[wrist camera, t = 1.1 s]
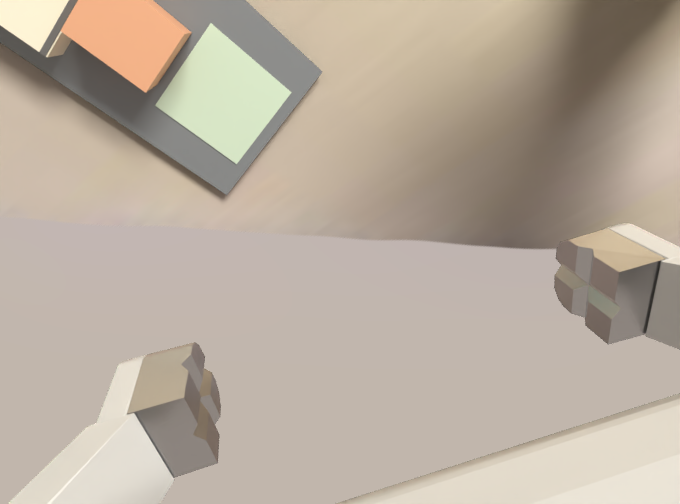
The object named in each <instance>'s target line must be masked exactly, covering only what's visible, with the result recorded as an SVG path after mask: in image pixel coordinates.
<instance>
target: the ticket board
mask: <svg viewBox="0 0 680 504" xmlns="http://www.w3.org/2000/svg"><path fill="white" fill-rule="evenodd" d="M77 1H78V0H0V43H1V44H3V45H4V46H6V47H7V48H9V49H10V50H12V51H13V52H15V53H16V54H18V55H19V56H21V57H22V58H24V59H25V60H27V61H28V62H30V63H31V64H33V65H34V66H36V67H37V68H39V69H40V70H42V71H43V72H45V73H46V74H48V75H49V76H51V77H52V78H53V79H55V80H56V81H58V82H59V83H61V84H62V85H64V86H65V87H67V88H68V89H70V90H71V91H73V92H74V93H76V94H77V95H79V96H80V97H82V98H83V99H85V100H86V101H88V102H89V103H91V104H92V105H94V106H95V107H97V108H98V109H100V110H101V111H102V112H104V113H105V114H107V115H108V116H110V117H111V118H113V119H114V120H116V121H117V122H119V123H120V124H122V125H123V126H125V127H126V128H128V129H129V130H131V131H132V132H134V133H135V134H137V135H138V136H140V137H141V138H143V139H144V140H146V141H147V142H149V143H150V144H151V145H153V146H154V147H156V148H157V149H159V150H160V151H162V152H163V153H165V154H166V155H168V156H169V157H171V158H172V159H174V160H175V161H177V162H178V163H180V164H181V165H183V166H184V167H186V168H187V169H189V170H190V171H192V172H193V173H195V174H196V175H198V176H199V177H200V178H202V179H203V180H205V181H206V182H208V183H209V184H211V185H212V186H214V187H215V188H217V189H218V190H220V191H221V192H223V193H224V194H226V195H227V194H228V193H229V192H230V190H231V189H232V188H233V187H234V185H235V184H236V183H237V181H238V180H239V179H240V178H241V176H242V175H243V174H244V172H245V171H246V170H247V168H248V167H249V166H250V165H251V163H252V162H253V161H254V159H255V158H256V157H257V156H258V154H259V153H260V152H261V150H262V149H263V148H264V147H265V145H266V144H267V143H268V141H269V140H270V139H271V138H272V136H273V135H274V134H275V132H276V131H277V130H278V129H279V127H280V126H281V125H282V123H283V122H284V121H285V120H286V118H287V117H288V116H289V114H290V113H291V112H292V111H293V109H294V108H295V107H296V105H297V104H298V103H299V101H300V100H301V99H302V98H303V96H304V95H305V94H306V92H307V91H308V90H309V89H310V87H311V86H312V85H313V83H314V82H315V81H316V80H317V78H318V77H319V76H320V74H321V73H322V71H321V70H320V69H319V68H318V67H317V66H316V65H315V64H313V63H312V62H311V61H310V60H309V59H308V58H307V57H306V56H305V55H304V54H303V53H302V52H301V51H299V50H298V49H297V48H296V47H295V46H294V45H293V44H292V43H291V42H290V41H289V40H288V39H286V38H285V37H284V36H283V35H282V34H281V33H280V32H279V31H278V30H277V29H276V28H275V27H273V26H272V25H271V24H270V23H269V22H268V21H267V20H266V19H265V18H264V17H263V16H262V15H260V14H259V13H258V12H257V11H256V10H255V9H254V8H253V7H252V6H251V5H250V4H249V3H248V2H246V1H245V0H153V1H155V2H156V3H157V4H158V5H159V6H161V7H162V8H163V9H164V10H165V11H167V12H168V13H169V14H170V15H171V16H173V17H174V18H175V19H176V20H177V21H179V22H180V23H181V24H182V25H183V26H185V27H186V28H187V29H188V30H189V31H191V32H192V33H191V35H190V36H189V38H188V39H187V41H186V42H185V44H184V45H183V47H182V48H181V50H180V51H179V53H178V54H177V56H176V57H175V59H174V60H173V62H172V63H171V65H170V66H169V68H168V69H167V71H166V72H165V74H164V75H163V77H162V78H161V80H160V81H159V83H158V84H157V85H156V86H155V87H153V88H152V89H150V90H149V91H147V92H146V93H145V92H144V91H142V90H141V89H140V88H138V87H137V86H136V85H134V84H133V83H131V82H130V81H129V80H127V79H126V78H125V77H123V76H122V75H120V74H119V73H118V72H116V71H115V70H114V69H112V68H111V67H109V66H108V65H107V64H105V63H104V62H103V61H101V60H100V59H98V58H97V57H96V56H94V55H93V54H91V53H90V52H89V51H87V50H86V49H85V48H83V47H82V46H80V45H79V44H78V43H76V42H75V41H74V40H72V39H71V38H69V37H68V36H67V35H65V34H64V33H63V32H61V29H62V27H63V25H64V24H65V22H66V20H67V18H68V17H69V15H70V13H71V12H72V10H73V8H74V6H75V5H76V3H77Z"/></svg>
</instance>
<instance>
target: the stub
mask: <svg viewBox="0 0 680 504" xmlns="http://www.w3.org/2000/svg"><path fill="white" fill-rule="evenodd" d="M61 32H63V33H64V34H65V35H67V36H68V37H69V38H71V39H72V40H74V41H75V42H76V43H78V44H79V45H80V46H82V47H83V48H85V49H86V50H87V51H89V52H90V53H91V54H93V55H94V56H96V57H97V58H98V59H100V60H101V61H103V62H104V63H105V64H107V65H108V66H109V67H111V68H112V69H114V70H115V71H116V72H118V73H119V74H120V75H122V76H123V77H125V78H126V79H127V80H129V81H130V82H131V83H133V84H134V85H136V86H137V87H138V88H140V89H141V90H142V91H144V92H145V93H146V92H147V91H149V90H150V89H152V88H153V87H155V86H156V85H157V84H158V83H159V81H160V80H161V78H162V77H163V75H164V74H165V72H166V71H167V69H168V68H169V66H170V65H171V63H172V62H173V60H174V59H175V57H176V56H177V54H178V53H179V51H180V50H181V48H182V47H183V45H184V44H185V42H186V41H187V39H188V38H189V36H190V35H191V33H192V32H191V31H189V30H188V29H187V28H186V27H185V26H183V25H182V24H181V23H180V22H179V21H177V20H176V19H175V18H174V17H173V16H171V15H170V14H169V13H168V12H167V11H165V10H164V9H163V8H162V7H161V6H159V5H158V4H157V3H156V2H155V1H153V0H78V1H77V3H76V5H75V6H74V8H73V10H72V12H71V13H70V15H69V17H68V18H67V20H66V22H65V24H64V25H63V27H62V29H61Z"/></svg>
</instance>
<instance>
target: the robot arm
mask: <svg viewBox="0 0 680 504" xmlns="http://www.w3.org/2000/svg"><path fill="white" fill-rule="evenodd" d="M556 259H557V260H558V262H559V263H560V264H561V267H560V268H559V270H558V271H557V273H556V274H555V286H554V288H555V291H556V294H557V296H558V299H559V301H560V302H561V303H562V305H563V306H564V307H565V308H566V309H567V310H568V311H569V312H570V313H572V314H575V315H578V316H581V317H585V324H586V326H587V327H588V328H589V329H590V330H592V331H593V332H594V333H595V334H596V335H597V336H599V337H600V338H601V339H603V341H605V342H606V343H607V344H612V343H615V342H618V341H622V340H626V339H630V338H633V337H637V336H640V335H644V334H646V337H649V338H652V339H654V340H657V341H659V342H662V343H664V344H667V345H669V346H672V347H675V348H677V349H680V247H678V246H676V245H674V244H672V243H670V242H668V241H666V240H664V239H662V238H660V237H658V236H656V235H654V234H652V233H649V232H647V231H645V230H643V229H641V228H639V227H637V226H635V225H633V224H631V223H620V224H617V225H614V226H611V227H607V228H604V229H602V230H599V231H596V232H593V233H589V234H586V235H582V236H579V237H575V238H572V239H568V240H565V241H561V242H560V243H559V245H558V247H557V252H556ZM204 361H205V356H204V354H203V352H202V350H201V348H200V346H199V345H198V344H197V343H190V344H187V345H183V346H179V347H175V348H171V349H167V350H163V351H159V352H155V353H151V354H148V355H143V356H140V357H137V358H133V359H129V360H126V361H123V362H121V363H120V364H119V365H118V366H117V368H116V371H115V374H114V376H113V379H112V382H111V385H110V387H109V390H108V393H107V395H106V398H105V400H104V403H103V406H102V409H101V411H100V414H99V416H98V419H97V422H96V424H93V425H90V426H87V427H86V428H85V429H84V430H83V431H82V432H81V433H80V434H79V435H78V436H77V437H76V438H75V439H74V440H73V441H72V442H71V443H70V444H69V445H68V446H67V447H66V448H65V449H64V450H63V451H61V452H60V453H59V454H58V455H57V456H56V457H55V458H54V459H53V460H52V461H51V462H50V463H49V464H48V465H47V466H46V467H45V468H44V469H43V470H42V471H41V472H40V473H39V474H38V475H37V476H36V477H35V478H34V479H33V480H32V481H31V482H30V483H28V485H26V486H25V487H24V488H23V489H22V491H20V492H19V493H18V494H17V495H16V496H15V497H14V498H13V499H12V500H11V501H10V502H9V503H8V504H160V503H161V502H162V500H163V498H164V497H165V495H166V494H167V492H168V490H169V489H170V487H171V485H172V484H173V482H174V477H178V476H181V475H184V474H187V473H189V472H192V471H195V470H198V469H201V468H204V467H208V466H211V465H214V464H217V463H218V449H219V433H218V431H217V429H216V426H215V423H216V422H217V421H218V419H219V417H220V410H221V409H220V408H221V405H220V397H219V391H218V387H217V384H216V381H215V378H214V376H213V374H212V372H210V371H208V370H206V369H204ZM337 504H680V393H679V394H676V395H673V396H670V397H667V398H664V399H661V400H657V401H654V402H651V403H648V404H645V405H642V406H639V407H635V408H632V409H629V410H626V411H623V412H620V413H617V414H614V415H611V416H607V417H604V418H601V419H598V420H595V421H592V422H589V423H586V424H582V425H580V426H576V427H573V428H570V429H567V430H564V431H561V432H557V433H554V434H551V435H548V436H545V437H542V438H539V439H536V440H533V441H529V442H527V443H523V444H520V445H517V446H514V447H511V448H508V449H505V450H502V451H499V452H495V453H492V454H489V455H486V456H483V457H480V458H476V459H473V460H470V461H467V462H464V463H461V464H458V465H455V466H452V467H448V468H445V469H442V470H439V471H436V472H433V473H430V474H427V475H424V476H420V477H417V478H414V479H411V480H408V481H405V482H402V483H399V484H395V485H393V486H389V487H386V488H383V489H380V490H377V491H374V492H371V493H367V494H364V495H362V496H358V497H355V498H352V499H349V500H346V501H343V502H340V503H337Z"/></svg>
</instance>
